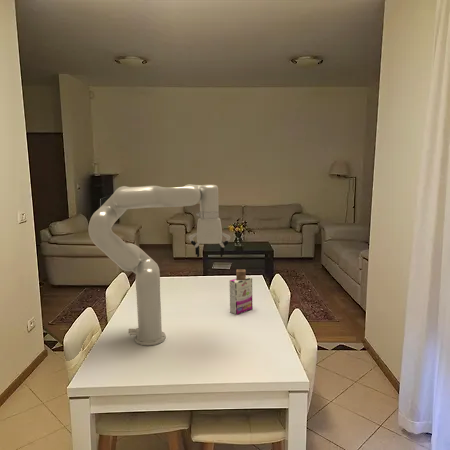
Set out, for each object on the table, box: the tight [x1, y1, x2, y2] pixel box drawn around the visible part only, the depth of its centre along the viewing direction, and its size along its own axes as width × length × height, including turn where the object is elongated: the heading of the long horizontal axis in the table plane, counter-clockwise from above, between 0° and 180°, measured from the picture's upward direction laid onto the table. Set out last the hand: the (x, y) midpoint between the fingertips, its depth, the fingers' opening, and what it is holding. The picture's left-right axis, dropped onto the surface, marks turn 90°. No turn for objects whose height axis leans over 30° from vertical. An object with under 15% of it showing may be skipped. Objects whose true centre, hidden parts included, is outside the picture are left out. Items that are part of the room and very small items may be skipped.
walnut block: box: [235, 268, 247, 280], centre depth 194 cm, size 4×4×4 cm
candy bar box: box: [229, 275, 253, 316], centre depth 196 cm, size 11×5×16 cm, turn 131°
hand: (209, 256), depth 166 cm, fingers open, 9 cm apart
